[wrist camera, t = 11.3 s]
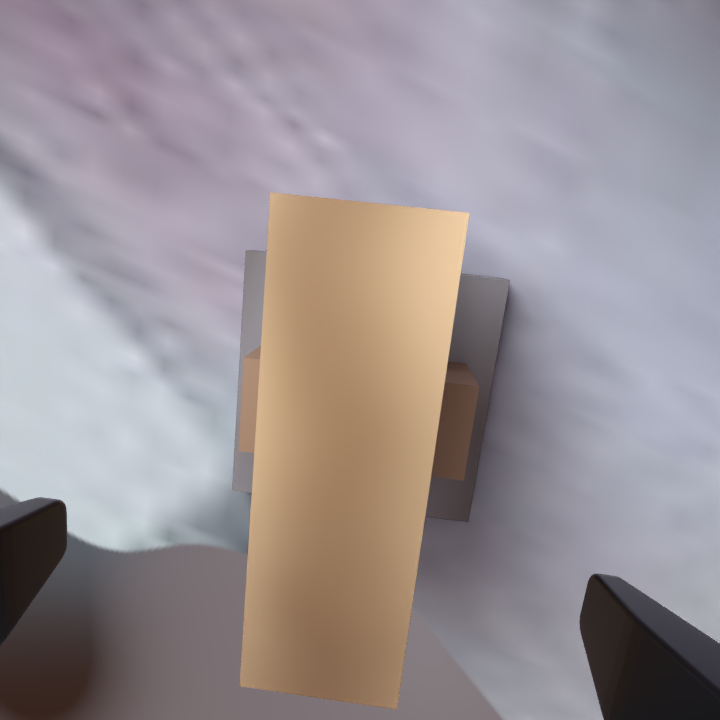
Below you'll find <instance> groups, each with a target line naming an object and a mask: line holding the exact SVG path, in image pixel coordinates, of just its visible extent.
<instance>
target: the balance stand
mask: <svg viewBox="0 0 720 720" xmlns="http://www.w3.org/2000/svg"><path fill="white" fill-rule="evenodd" d="M266 255H267V252H264V251H255V250H250V251H246V256H245V274H244V291H243V309H242V326H241V344H240V361H239V379H238V396H237V414H236V431H235V449H234V466H233V483H232V490H234V491H241V492H249V493H252V482H253V466H254V450H255V433H256V417H257V401H258V385H259V369H260V353H261V336H262V320H263V304H264V288H265V272H266ZM509 282H510V280H507V279H503V278H494V277H485V276H476V275H467V274H460V281H459V288H458V295H457V302H456V309H455V316H454V322H453V329H452V336H451V343H450V350H449V357H448V364H447V370H446V377H445V384H444V391H443V398H442V405H441V412H440V418H439V425H438V432H437V439H436V446H435V453H434V460H433V467H432V473H431V480H430V487H429V494H428V501H427V508H426V515H425V516H426V517H433V518H441V519H448V520H456V521H463V522H468V521H469V515H470V509H471V503H472V497H473V492H474V486H475V480H476V474H477V468H478V462H479V457H480V451H481V445H482V439H483V433H484V428H485V422H486V416H487V410H488V404H489V399H490V393H491V387H492V381H493V375H494V369H495V364H496V358H497V352H498V346H499V340H500V335H501V329H502V323H503V317H504V311H505V305H506V300H507V294H508V288H509Z"/></svg>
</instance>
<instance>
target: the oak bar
mask: <svg viewBox="0 0 720 720" xmlns="http://www.w3.org/2000/svg"><path fill="white" fill-rule="evenodd" d="M468 220H469V213H465V212H455V211H445V210H436V209H426V208H416V207H406V206H397V205H387V204H377V203H367V202H358V201H348V200H338V199H328V198H319V197H309V196H299V195H289V194H280V193H270V207H269V223H268V239H267V255H266V272H265V288H264V304H263V320H262V336H261V353H260V369H259V385H258V401H257V417H256V433H255V450H254V466H253V482H252V498H251V514H250V530H249V547H248V563H247V579H246V596H245V612H244V628H243V644H242V660H241V677H240V686H242V687H249V688H256V689H262V690H269V691H276V692H283V693H289V694H296V695H303V696H310V697H316V698H323V699H329V700H336V701H343V702H350V703H356V704H363V705H370V706H377V707H383V708H390V709H397V707H398V706H397V705H398V700H399V693H400V685H401V679H402V672H403V666H404V658H405V652H406V645H407V638H408V631H409V624H410V617H411V611H412V604H413V597H414V590H415V583H416V576H417V569H418V563H419V556H420V549H421V542H422V535H423V528H424V521H425V515H426V508H427V501H428V494H429V487H430V480H431V473H432V467H433V460H434V453H435V446H436V439H437V432H438V425H439V418H440V412H441V405H442V398H443V391H444V384H445V377H446V370H447V364H448V357H449V350H450V343H451V336H452V329H453V322H454V316H455V309H456V302H457V295H458V288H459V281H460V274H461V268H462V261H463V254H464V247H465V240H466V233H467V226H468Z"/></svg>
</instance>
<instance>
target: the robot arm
mask: <svg viewBox="0 0 720 720" xmlns="http://www.w3.org/2000/svg"><path fill="white" fill-rule="evenodd" d="M66 547H67V511H66V506H65V503H64V502H63V501H61V500H57V499H50V498H43V497H39V498H34V499H31V500H27V501H23V502H20V503H16V504H12V505H9V506H5V507H1V508H0V646H1V644H2V643H3V642H4V641H5V639H6V638H7V637H8V635H9V634H10V633H11V631H12V630H13V628H14V627H15V626H16V624H17V623H18V621H19V620H20V619H21V617H22V616H23V614H24V613H25V611H26V610H27V609H28V607H29V606H30V604H31V603H32V601H33V600H34V598H35V597H36V596H37V594H38V593H39V591H40V590H41V588H42V587H43V585H44V584H45V583H46V581H47V580H48V578H49V577H50V575H51V574H52V572H53V571H54V569H55V568H56V566H57V565H58V564H59V562H60V561H61V559H62V558H63V556H64V553H65V551H66ZM580 631H581V636H582V639H583V643H584V647H585V651H586V654H587V658H588V662H589V666H590V670H591V673H592V677H593V681H594V685H595V689H596V692H597V696H598V700H599V704H600V707H601V711H602V715H603V718H604V720H720V644H719V643H718V642H716V641H715V640H713V639H712V638H710V637H709V636H707V635H706V634H704V633H703V632H701V631H700V630H698V629H697V628H695V627H694V626H692V625H691V624H689V623H688V622H686V621H685V620H683V619H682V618H680V617H679V616H677V615H676V614H674V613H673V612H671V611H670V610H668V609H667V608H665V607H663V606H662V605H660V604H659V603H657V602H656V601H654V600H653V599H651V598H650V597H648V596H647V595H645V594H644V593H642V592H641V591H639V590H638V589H636V588H635V587H633V586H632V585H630V584H629V583H627V582H626V581H624V580H623V579H621V578H619V577H617V576H611V575H604V574H593V575H592V576H591V577H590V579H589V581H588V584H587V588H586V593H585V597H584V601H583V606H582V610H581V614H580Z"/></svg>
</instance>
